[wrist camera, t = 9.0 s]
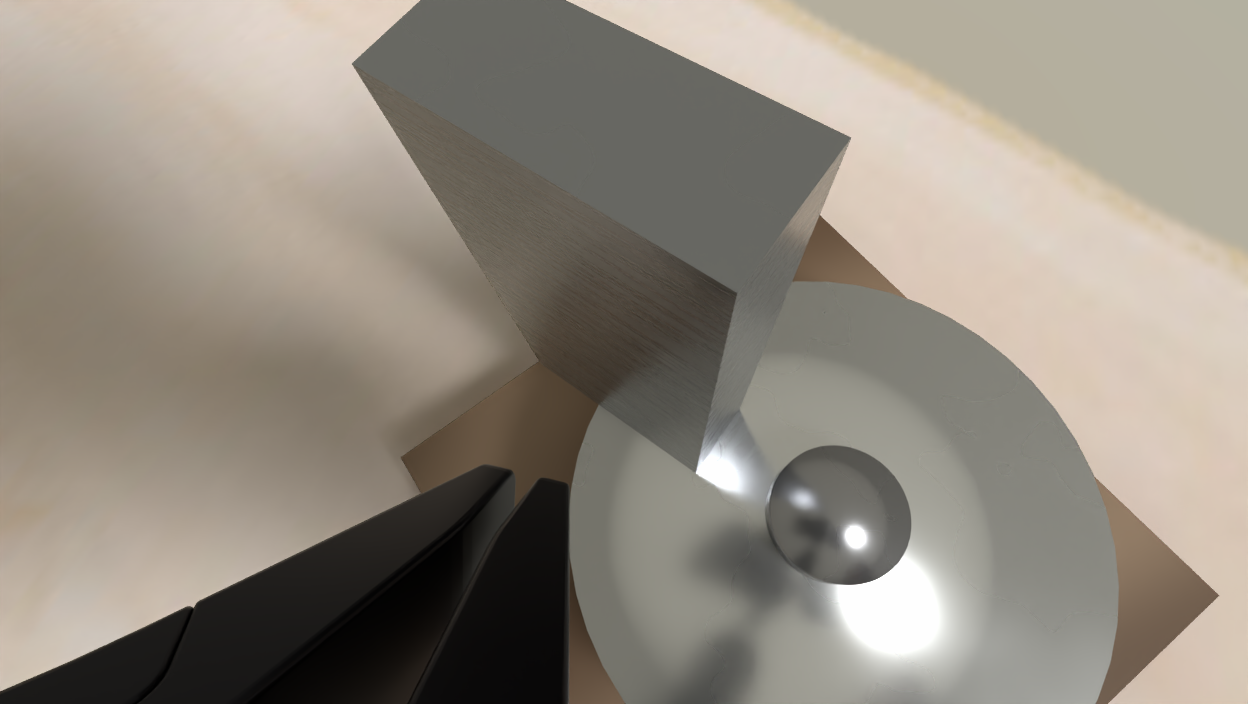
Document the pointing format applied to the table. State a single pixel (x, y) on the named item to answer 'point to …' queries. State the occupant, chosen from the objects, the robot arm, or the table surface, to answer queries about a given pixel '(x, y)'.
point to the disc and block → (748, 387)
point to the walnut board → (560, 414)
